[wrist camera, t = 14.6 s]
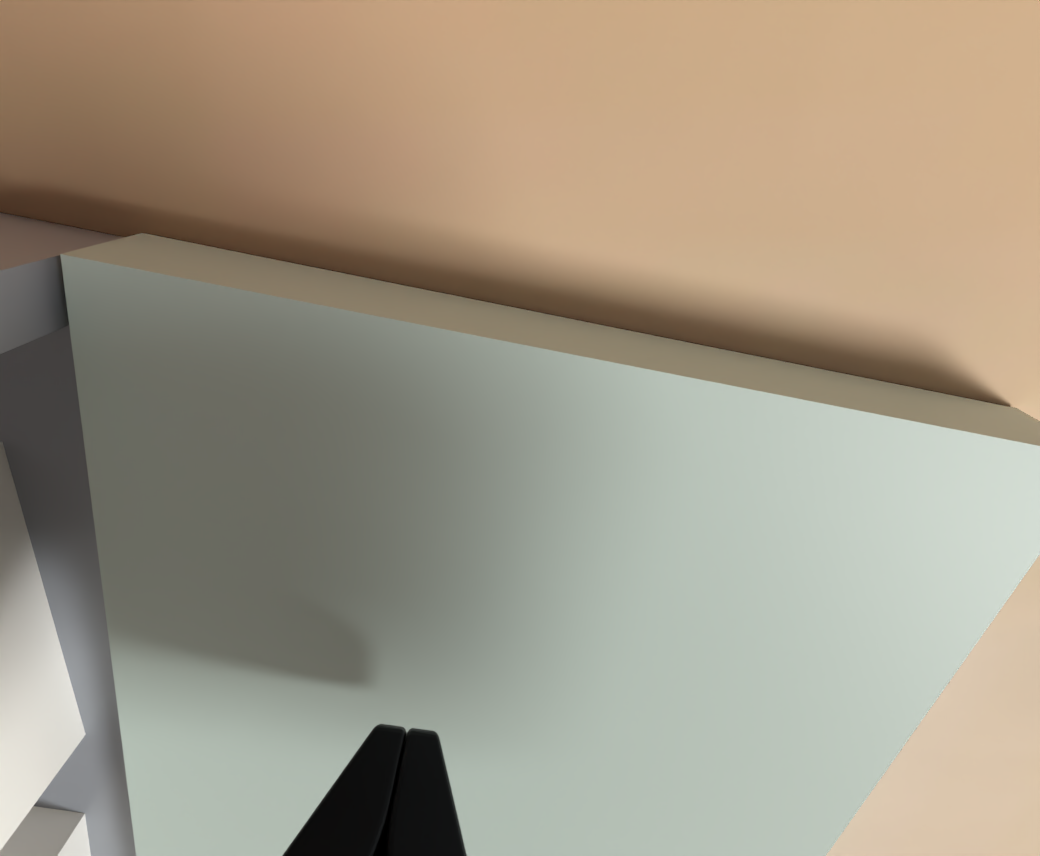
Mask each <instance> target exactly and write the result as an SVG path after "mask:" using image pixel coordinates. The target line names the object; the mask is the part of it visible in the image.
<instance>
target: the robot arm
mask: <svg viewBox="0 0 1040 856" xmlns="http://www.w3.org/2000/svg"><path fill="white" fill-rule="evenodd" d="M282 856H467V854H466V850H465V845H464V841H463V837H462V832H461V828H460V824H459V819H458V815H457V811H456V807H455V802H454V798H453V794H452V789H451V785H450V781H449V776H448V772H447V768H446V764H445V759H444V755H443V751H442V746H441V742H440V738H439V735H438V734H437V732H435V731H432V730H425V729H417V728H411V729H409V730H408V732H407V734H406V729H405V728H404V727H402V726H395V725H387V724H378V725H376V726H375V727H374V728H373V729H372V731H371V732H370V733H369V735H368V736H367V738H366V739H365V740H364V742H363V743H362V745H361V746H360V747H359V749H358V750H357V752H356V753H355V754H354V756H353V757H352V759H351V760H350V761H349V763H348V764H347V766H346V767H345V768H344V770H343V771H342V773H341V774H340V775H339V777H338V778H337V780H336V781H335V782H334V784H333V785H332V787H331V788H330V789H329V791H328V792H327V794H326V795H325V796H324V798H323V799H322V801H321V802H320V803H319V805H318V806H317V808H316V809H315V810H314V812H313V813H312V815H311V816H310V817H309V819H308V820H307V822H306V823H305V824H304V826H303V827H302V829H301V830H300V831H299V833H298V834H297V836H296V837H295V838H294V840H293V841H292V843H291V844H290V845H289V847H288V848H287V850H286V851H285V852H284V854H283V855H282Z"/></svg>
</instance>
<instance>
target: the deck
mask: <svg viewBox="0 0 1040 856" xmlns="http://www.w3.org/2000/svg"><path fill="white" fill-rule="evenodd" d="M60 256H61V264H62V272H63V280H64V288H65V296H66V304H67V311H68V319H69V327H70V335H71V343H72V351H73V359H74V367H75V375H76V383H77V391H78V399H79V407H80V414H81V422H82V430H83V438H84V446H85V454H86V462H87V470H88V478H89V486H90V494H91V502H92V510H93V517H94V525H95V533H96V541H97V549H98V557H99V565H100V573H101V581H102V589H103V597H104V605H105V613H106V621H107V628H108V636H109V644H110V652H111V660H112V668H113V676H114V684H115V692H116V700H117V708H118V716H119V724H120V731H121V739H122V747H123V755H124V763H125V771H126V779H127V787H128V795H129V803H130V811H131V819H132V827H133V834H134V842H135V850H136V856H282V855H283V854H284V852H285V851H286V850H287V848H288V847H289V845H290V844H291V843H292V841H293V840H294V838H295V837H296V836H297V834H298V833H299V831H300V830H301V829H302V827H303V826H304V824H305V823H306V822H307V820H308V819H309V817H310V816H311V815H312V813H313V812H314V810H315V809H316V808H317V806H318V805H319V803H320V802H321V801H322V799H323V798H324V796H325V795H326V794H327V792H328V791H329V789H330V788H331V787H332V785H333V784H334V782H335V781H336V780H337V778H338V777H339V775H340V774H341V773H342V771H343V770H344V768H345V767H346V766H347V764H348V763H349V761H350V760H351V759H352V757H353V756H354V754H355V753H356V752H357V750H358V749H359V747H360V746H361V745H362V743H363V742H364V740H365V739H366V738H367V736H368V735H369V733H370V732H371V731H372V729H373V728H374V727H375V726H376V725H378V724H387V725H395V726H402V727H404V728H405V729H406V734H407V732H408V730H409V729H411V728H417V729H425V730H432V731H435V732H437V734H438V735H439V738H440V742H441V746H442V751H443V755H444V759H445V764H446V768H447V772H448V776H449V781H450V785H451V789H452V794H453V798H454V802H455V807H456V811H457V815H458V819H459V824H460V828H461V832H462V837H463V841H464V845H465V850H466V854H467V856H826V855H827V853H828V852H829V851H830V849H831V848H832V846H833V845H834V843H835V842H836V841H837V839H838V838H839V836H840V835H841V834H842V832H843V831H844V829H845V828H846V827H847V825H848V824H849V822H850V821H851V820H852V818H853V817H854V815H855V814H856V812H857V811H858V810H859V808H860V807H861V805H862V804H863V803H864V801H865V800H866V798H867V797H868V796H869V794H870V793H871V791H872V790H873V789H874V787H875V786H876V784H877V783H878V781H879V780H880V779H881V777H882V776H883V774H884V773H885V772H886V770H887V769H888V767H889V766H890V765H891V763H892V762H893V760H894V759H895V758H896V756H897V755H898V753H899V752H900V750H901V749H902V748H903V746H904V745H905V743H906V742H907V741H908V739H909V738H910V736H911V735H912V734H913V732H914V731H915V729H916V728H917V727H918V725H919V724H920V722H921V721H922V719H923V718H924V717H925V715H926V714H927V712H928V711H929V710H930V708H931V707H932V705H933V704H934V703H935V701H936V700H937V698H938V697H939V695H940V694H941V693H942V691H943V690H944V688H945V687H946V686H947V684H948V683H949V681H950V680H951V679H952V677H953V676H954V674H955V673H956V672H957V670H958V669H959V667H960V666H961V664H962V663H963V662H964V660H965V659H966V657H967V656H968V655H969V653H970V652H971V650H972V649H973V648H974V646H975V645H976V643H977V642H978V641H979V639H980V638H981V636H982V635H983V633H984V632H985V631H986V629H987V628H988V626H989V625H990V624H991V622H992V621H993V619H994V618H995V617H996V615H997V614H998V612H999V611H1000V610H1001V608H1002V607H1003V605H1004V604H1005V602H1006V601H1007V600H1008V598H1009V597H1010V595H1011V594H1012V593H1013V591H1014V590H1015V588H1016V587H1017V586H1018V584H1019V583H1020V581H1021V580H1022V579H1023V577H1024V576H1025V574H1026V573H1027V571H1028V570H1029V569H1030V567H1031V566H1032V564H1033V563H1034V562H1035V560H1036V559H1037V557H1038V556H1039V555H1040V421H1038V420H1036V419H1035V418H1033V417H1031V416H1029V415H1028V414H1026V413H1024V412H1022V411H1020V410H1019V409H1017V408H1013V407H1008V406H1003V405H998V404H993V403H988V402H983V401H978V400H973V399H968V398H963V397H958V396H953V395H949V394H944V393H939V392H934V391H929V390H924V389H919V388H914V387H909V386H904V385H899V384H894V383H889V382H884V381H879V380H874V379H869V378H864V377H859V376H854V375H849V374H844V373H839V372H834V371H829V370H824V369H819V368H814V367H809V366H804V365H799V364H794V363H789V362H784V361H779V360H774V359H769V358H764V357H759V356H754V355H749V354H744V353H739V352H734V351H729V350H724V349H719V348H714V347H709V346H704V345H699V344H694V343H689V342H684V341H679V340H674V339H669V338H664V337H659V336H654V335H649V334H644V333H639V332H634V331H629V330H624V329H619V328H614V327H609V326H604V325H599V324H594V323H589V322H584V321H580V320H575V319H570V318H565V317H560V316H555V315H550V314H545V313H540V312H535V311H530V310H525V309H520V308H515V307H510V306H505V305H500V304H495V303H490V302H485V301H480V300H475V299H470V298H465V297H460V296H455V295H450V294H445V293H440V292H435V291H430V290H425V289H420V288H415V287H410V286H405V285H400V284H395V283H390V282H385V281H380V280H375V279H370V278H365V277H360V276H355V275H350V274H345V273H340V272H335V271H330V270H325V269H320V268H315V267H310V266H305V265H300V264H295V263H290V262H285V261H280V260H275V259H270V258H265V257H260V256H255V255H250V254H245V253H240V252H235V251H230V250H225V249H220V248H215V247H211V246H206V245H201V244H196V243H191V242H186V241H181V240H176V239H171V238H166V237H161V236H156V235H151V234H146V233H140V234H136V235H132V236H128V237H124V238H120V239H116V240H113V241H109V242H105V243H101V244H97V245H93V246H90V247H86V248H82V249H78V250H74V251H70V252H66V253H63V254H60Z"/></svg>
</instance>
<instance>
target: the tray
mask: <svg viewBox="0 0 1040 856" xmlns="http://www.w3.org/2000/svg"><path fill="white" fill-rule="evenodd" d="M120 238H124V237H121V236H116V235H111V234H106V233H101V232H96V231H91V230H86V229H81V228H76V227H71V226H66V225H61V224H56V223H51V222H46V221H41V220H36V219H31V218H26V217H21V216H16V215H11V214H6V213H1V212H0V442H3V446H4V449H5V453H6V456H7V460H8V463H9V467H10V470H11V474H12V477H13V481H14V484H15V488H16V491H17V495H18V498H19V502H20V505H21V509H22V512H23V516H24V519H25V523H26V527H27V530H28V534H29V537H30V541H31V544H32V548H33V551H34V555H35V558H36V562H37V565H38V569H39V572H40V576H41V579H42V583H43V586H44V590H45V593H46V597H47V600H48V604H49V607H50V611H51V614H52V618H53V621H54V625H55V628H56V632H57V635H58V639H59V643H60V646H61V650H62V653H63V657H64V660H65V664H66V667H67V671H68V674H69V678H70V681H71V685H72V688H73V692H74V695H75V699H76V702H77V706H78V709H79V713H80V716H81V720H82V723H83V727H84V730H85V734H86V735H85V736H84V737H83V739H82V740H81V742H80V743H79V744H78V746H77V747H76V748H75V750H74V751H73V752H72V754H71V755H70V757H69V758H68V759H67V761H66V762H65V763H64V765H63V766H62V767H61V769H60V770H59V772H58V773H57V774H56V776H55V777H54V778H53V780H52V781H51V782H50V784H49V785H48V787H47V788H46V789H45V791H44V792H43V793H42V795H41V796H40V797H39V799H38V800H37V802H36V803H35V804H34V806H36V807H43V808H50V809H57V810H65V811H72V812H79V813H85V818H86V825H87V832H88V839H89V846H90V852H91V856H136V850H135V842H134V834H133V827H132V819H131V811H130V803H129V795H128V787H127V779H126V771H125V763H124V755H123V747H122V739H121V731H120V724H119V716H118V708H117V700H116V692H115V684H114V676H113V668H112V660H111V652H110V644H109V636H108V628H107V621H106V613H105V605H104V597H103V589H102V581H101V573H100V565H99V557H98V549H97V541H96V533H95V525H94V517H93V510H92V502H91V494H90V486H89V478H88V470H87V462H86V454H85V446H84V438H83V430H82V422H81V414H80V407H79V399H78V391H77V383H76V375H75V367H74V359H73V351H72V343H71V335H70V327H69V319H68V311H67V304H66V296H65V288H64V280H63V272H62V264H61V256H60V254H63V253H66V252H70V251H74V250H78V249H82V248H86V247H90V246H93V245H97V244H101V243H105V242H109V241H113V240H116V239H120Z"/></svg>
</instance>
